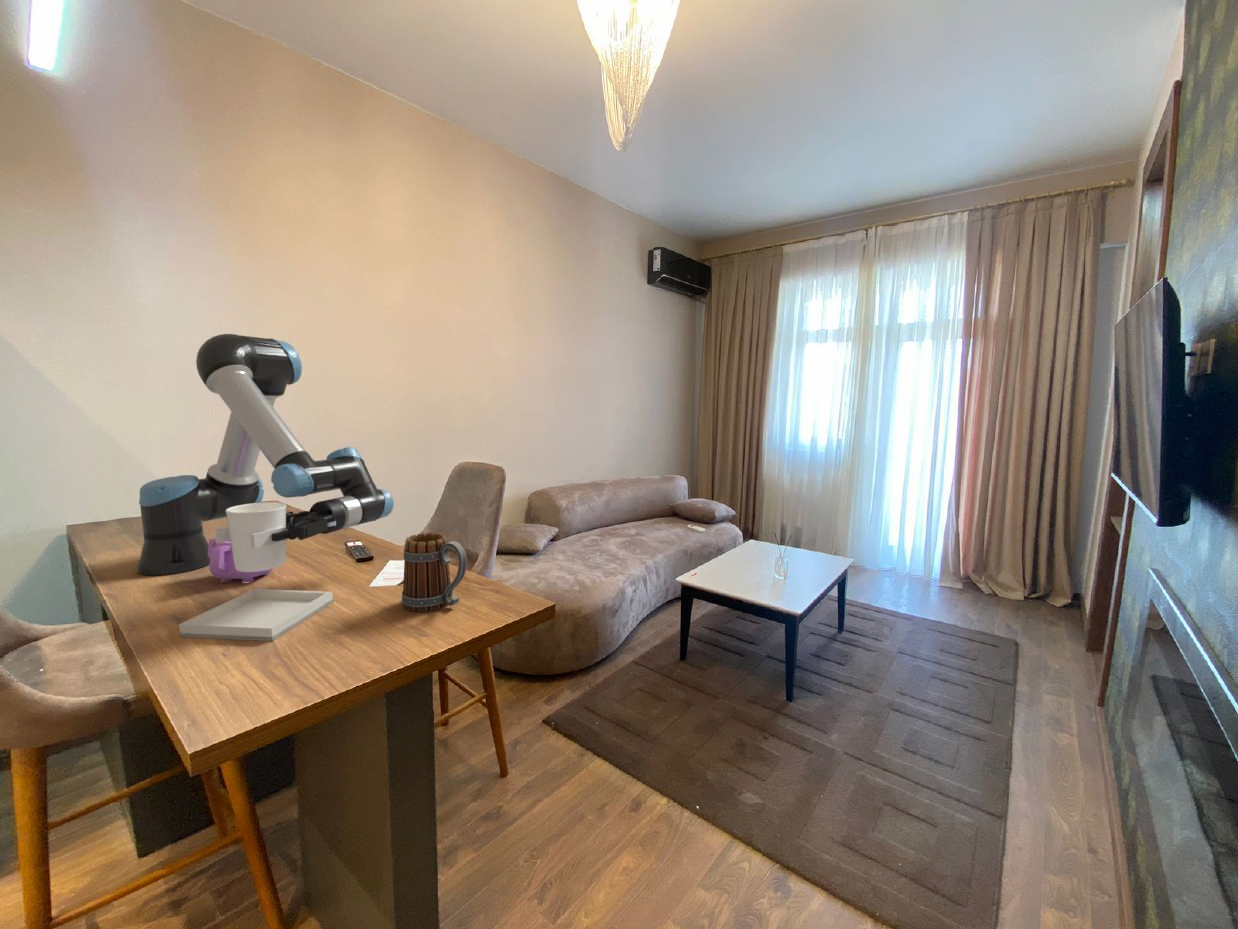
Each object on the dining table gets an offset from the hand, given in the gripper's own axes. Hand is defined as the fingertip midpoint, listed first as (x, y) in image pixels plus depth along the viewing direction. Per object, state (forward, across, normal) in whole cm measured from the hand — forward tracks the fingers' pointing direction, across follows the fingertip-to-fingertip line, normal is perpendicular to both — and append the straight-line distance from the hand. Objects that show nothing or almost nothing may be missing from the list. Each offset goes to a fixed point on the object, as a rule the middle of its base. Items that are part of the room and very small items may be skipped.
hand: (234, 538), depth 96 cm
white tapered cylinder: (-5, 0, -7) cm, 8 cm away
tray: (-4, 0, -18) cm, 18 cm away
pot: (-20, +27, -18) cm, 38 cm away
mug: (-22, -28, -18) cm, 40 cm away
